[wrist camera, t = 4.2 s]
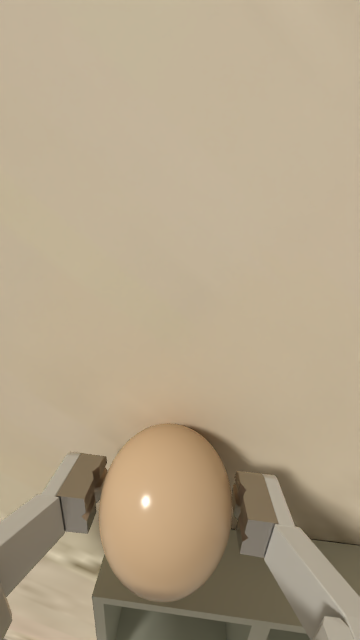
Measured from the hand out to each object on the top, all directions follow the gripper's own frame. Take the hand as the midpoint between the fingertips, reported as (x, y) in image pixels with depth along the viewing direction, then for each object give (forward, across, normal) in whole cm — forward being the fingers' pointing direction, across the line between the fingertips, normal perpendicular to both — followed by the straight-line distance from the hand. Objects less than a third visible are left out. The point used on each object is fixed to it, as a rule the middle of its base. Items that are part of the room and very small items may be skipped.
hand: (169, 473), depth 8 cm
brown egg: (+2, 0, 0) cm, 2 cm away
